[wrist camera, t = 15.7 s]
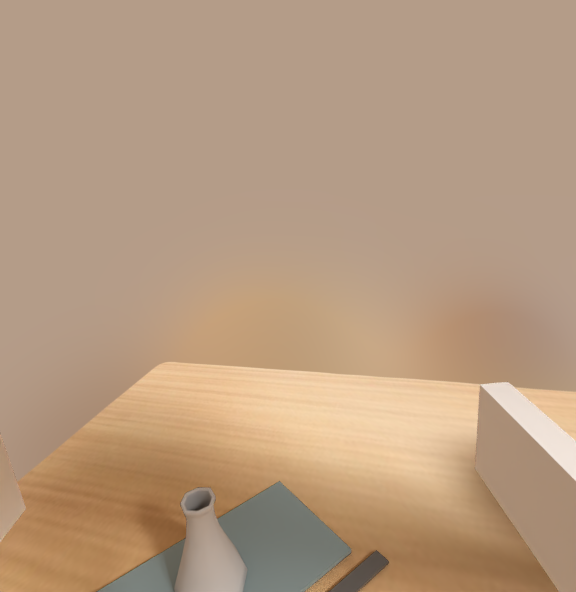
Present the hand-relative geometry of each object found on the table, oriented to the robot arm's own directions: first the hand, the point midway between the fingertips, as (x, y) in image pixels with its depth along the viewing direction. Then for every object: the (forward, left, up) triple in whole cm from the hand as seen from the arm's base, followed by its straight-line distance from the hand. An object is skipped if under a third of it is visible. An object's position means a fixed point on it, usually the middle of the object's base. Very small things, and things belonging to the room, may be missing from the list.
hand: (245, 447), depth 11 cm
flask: (-5, -22, -31) cm, 38 cm away
